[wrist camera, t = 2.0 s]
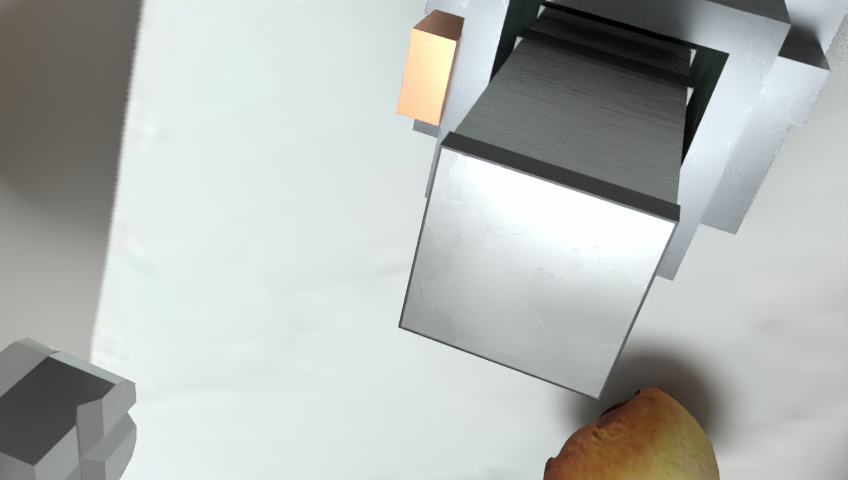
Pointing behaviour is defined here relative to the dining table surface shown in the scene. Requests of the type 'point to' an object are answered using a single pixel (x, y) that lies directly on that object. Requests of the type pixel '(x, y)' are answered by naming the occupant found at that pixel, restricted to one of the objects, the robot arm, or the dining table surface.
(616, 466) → the fruit
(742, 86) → the stand
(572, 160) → the column
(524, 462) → the dining table surface
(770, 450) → the dining table surface
